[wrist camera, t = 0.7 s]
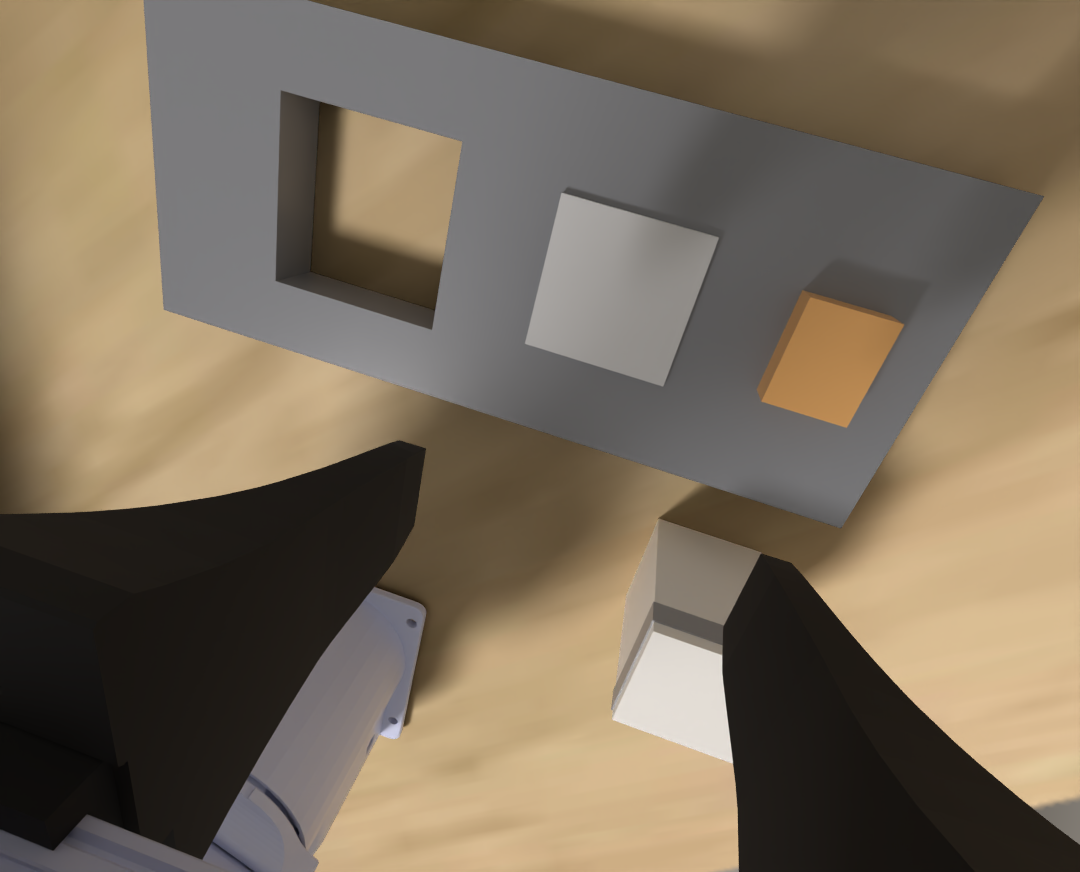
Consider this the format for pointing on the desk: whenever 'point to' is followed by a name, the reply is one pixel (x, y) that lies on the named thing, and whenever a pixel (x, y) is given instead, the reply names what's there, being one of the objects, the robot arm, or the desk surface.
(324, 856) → the desk surface
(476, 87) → the grey slab
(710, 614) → the block
